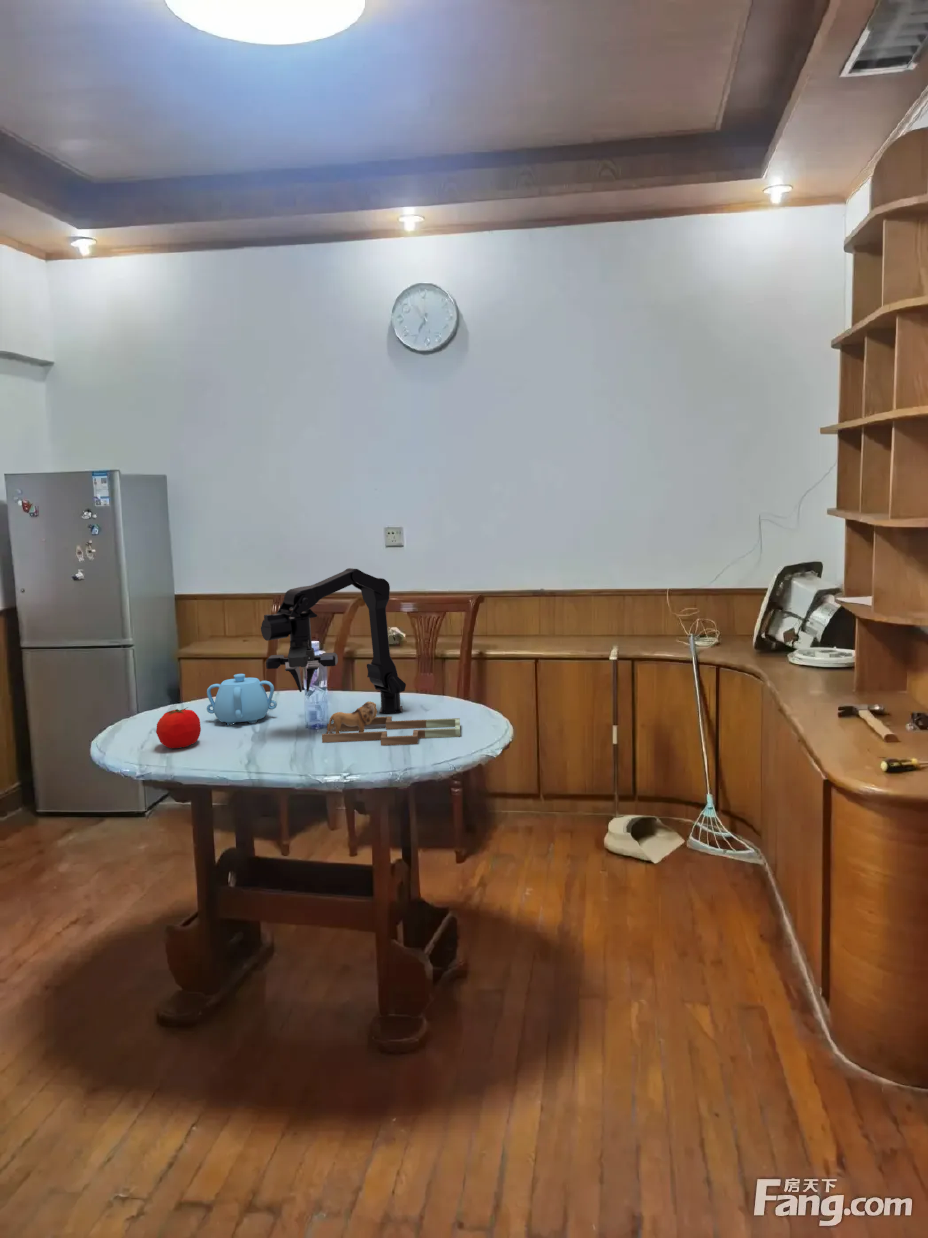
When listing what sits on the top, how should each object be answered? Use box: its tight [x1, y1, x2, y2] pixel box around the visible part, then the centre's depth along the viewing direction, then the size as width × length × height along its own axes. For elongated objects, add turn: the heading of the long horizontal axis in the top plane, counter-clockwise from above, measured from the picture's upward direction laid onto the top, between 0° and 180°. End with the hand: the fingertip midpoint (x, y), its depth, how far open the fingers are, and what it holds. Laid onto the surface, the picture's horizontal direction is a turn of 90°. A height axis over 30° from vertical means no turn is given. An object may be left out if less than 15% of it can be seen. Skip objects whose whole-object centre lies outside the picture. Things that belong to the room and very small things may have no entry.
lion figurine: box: [325, 701, 378, 734], centre depth 249 cm, size 15×5×9 cm, turn 101°
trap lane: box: [321, 716, 461, 747], centre depth 250 cm, size 22×36×2 cm, turn 91°
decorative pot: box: [206, 673, 278, 725], centre depth 271 cm, size 16×16×14 cm
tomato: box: [155, 706, 202, 749], centre depth 246 cm, size 11×13×10 cm
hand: (304, 691), depth 255 cm, fingers closed
